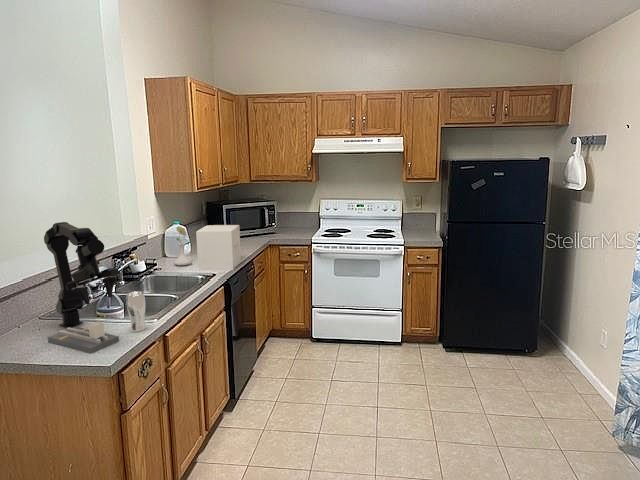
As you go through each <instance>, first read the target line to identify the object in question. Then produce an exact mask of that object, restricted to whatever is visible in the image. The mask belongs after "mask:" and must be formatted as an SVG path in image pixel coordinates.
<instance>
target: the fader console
mask: <svg viewBox="0 0 640 480" xmlns="http://www.w3.org/2000/svg"><path fill="white" fill-rule="evenodd" d="M65 328H66V330H62V329H60V330H58V332H57V333H55V334H53V335H50V336H47V342H48V343H50V344H53V345H56V346H57V345H58V346H62V347H65V348H69V349H73V350H75V351H80V352H84V353H88V354H94V353H96V352H98V351H101V350H102V349H105V348H107V347H110V346H112V345H114V344H116V343H119V342H120V336H119V335H116V334H115V335H114V334H111V333H106V332H104V333H105V335H104V336H102V337H100V339H93V338H90V335H89V328H85V327H81V326H73V327H65Z"/></svg>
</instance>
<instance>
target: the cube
mask: <svg viewBox="0 0 640 480" xmlns="http://www.w3.org/2000/svg"><path fill="white" fill-rule="evenodd" d="M240 230H241V229H240V224H213V225H212V224H211V225H210V224H209V225H205V226H203V227H202V228H199V229H198V230H197V231H195V235H196V252H197V268H198V269H197V270H198V271H234V270H235V269H236V268H237V266H238V265H239V263H241V261H242V257H241V256H242V255H241V254H242V253H241V252H242V251H241V234H240V232H241V231H240Z"/></svg>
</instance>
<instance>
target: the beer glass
mask: <svg viewBox="0 0 640 480" xmlns="http://www.w3.org/2000/svg"><path fill="white" fill-rule="evenodd" d="M126 308H127V309H126V310H127V314H128V316H129V320H130V329H129V330H130V331H131V332H133V333H140V332H143V331H145V330H146V329H147V324H146V321H145V320H146V319H145V314H146V298H145V292H144V291H131V292H128V293H127V294H126Z"/></svg>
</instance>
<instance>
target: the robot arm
mask: <svg viewBox="0 0 640 480" xmlns="http://www.w3.org/2000/svg"><path fill="white" fill-rule="evenodd" d="M43 242H44V244H45V245H46V248H47V250H48V251H49V252H50V253H51V254H53V259H54V263H55V268H56V271H57V277H58V281H59V285H60V286H59V287H60V291H59V293H58V295H57V297H58V301H57V303H56V304H55V305H56V306H55V309H56V312H57V313H58V314H60V315H61V316H62V317H61V318H62V323H60V324H59V326H60V327H64V328H68V327H70V328H74V327H77V326H78V325H80V324H83V323H84V321H82V320H80V313H79V310H83V307H84V303H85V305H86V306H88V305H90V295H89V289H88V288H89V287H88V286H86V285H87V284H89V283H91V282H92V283H93V282H95V281H98V280H101V282H102V283H103V284H104V287H105V291H106V293H107V297H108V298H112V295H113V289H114V285H115V283H116V279H118V276H120V275H121V273H120V270H119V269H118V268H117V267H109V268H105V269H103V270H100V268H99V265H101V264H100V263H101V262H100V261H98V259H97V256H99V255H100V254H102V253H104V251H105V244H104V243H103V242H102V240H100V239H99V237H98V236H97V235H96V234H95V233H94V232H93V231H92V230H91V228H89V227H80V228H79V227H77V226H75V225H72V224H70V223H69V222H67V221H62V222H55V223H53V224H52V226H51V227H50V228H49V229H47V230H46V231H45V233H44V236H43ZM69 242H70V243H71V244H72V245H73V246H76V249H75V253H76V254H77V255H76V256H77V258H78V262H79V264H78V265H77V268H78V269H77V270H76V271H74V272H73V273H72V271H71V267H70V263H69V259H68V255H67V250H68V249H69V246H70V243H69Z"/></svg>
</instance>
